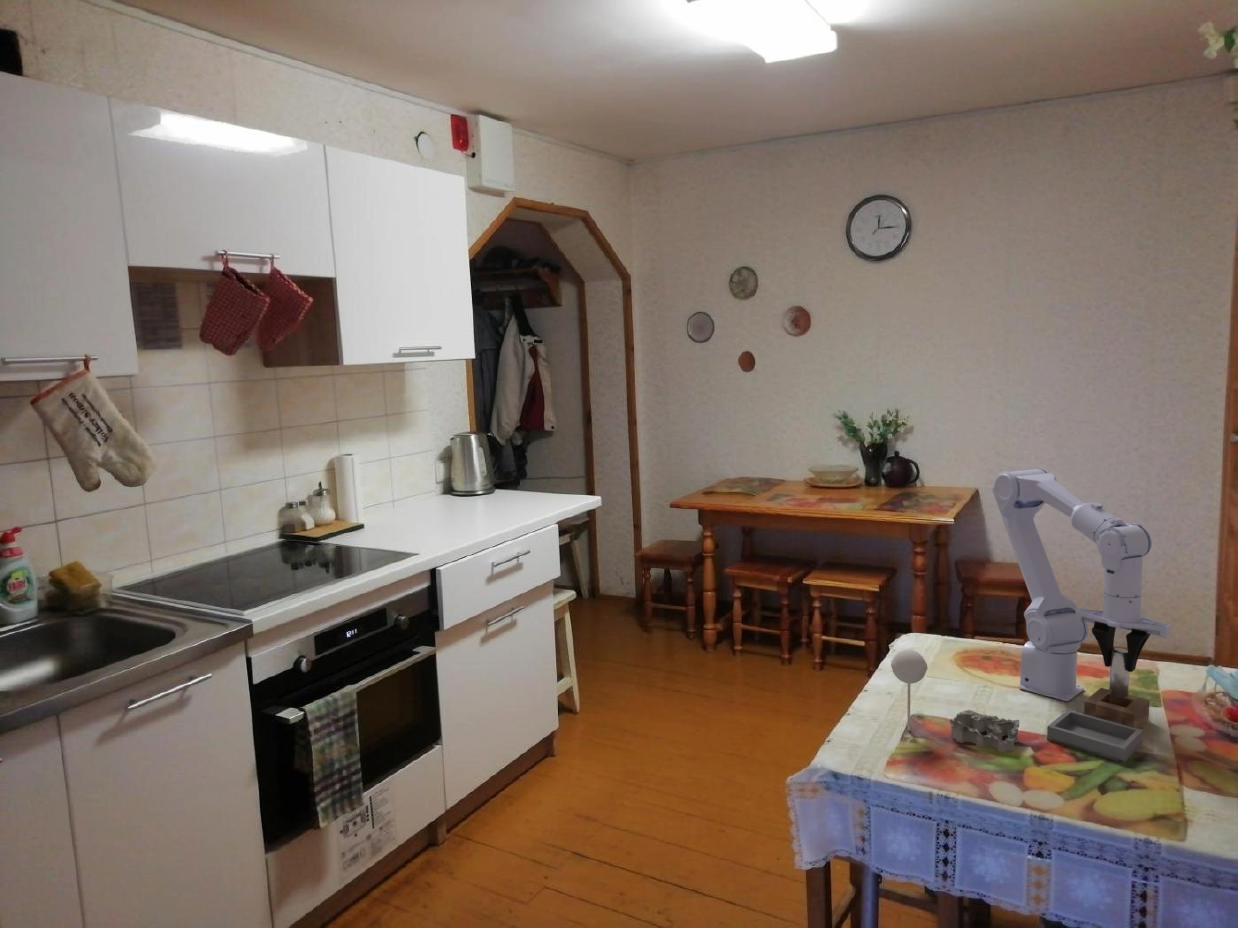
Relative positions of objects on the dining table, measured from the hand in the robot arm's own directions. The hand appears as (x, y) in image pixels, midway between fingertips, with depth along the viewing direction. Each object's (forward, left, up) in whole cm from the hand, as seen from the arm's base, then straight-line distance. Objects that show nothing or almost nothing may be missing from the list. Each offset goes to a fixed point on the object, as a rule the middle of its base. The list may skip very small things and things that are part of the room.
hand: (1119, 667), depth 152 cm
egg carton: (-14, -21, -11) cm, 28 cm away
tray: (0, -10, -10) cm, 15 cm away
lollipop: (-25, -27, -11) cm, 39 cm away
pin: (0, 0, -5) cm, 5 cm away
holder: (0, 0, -10) cm, 10 cm away
